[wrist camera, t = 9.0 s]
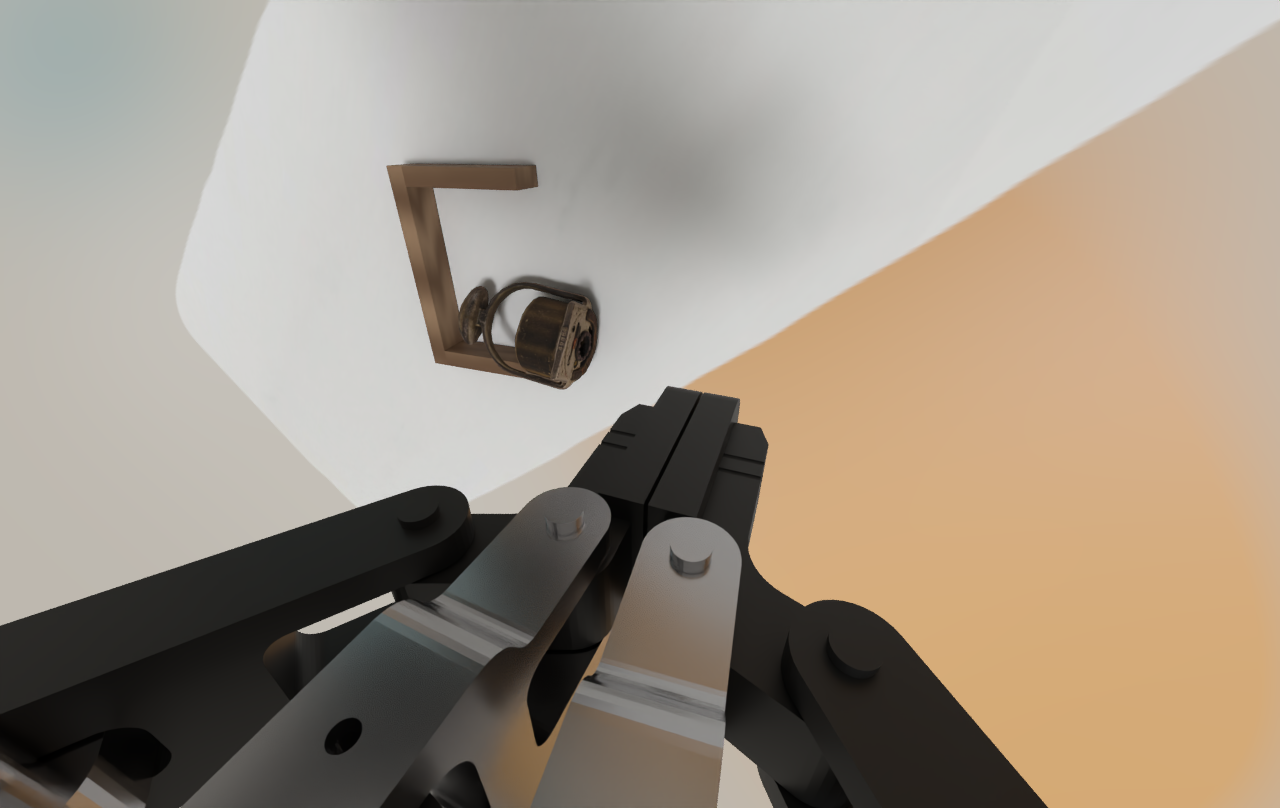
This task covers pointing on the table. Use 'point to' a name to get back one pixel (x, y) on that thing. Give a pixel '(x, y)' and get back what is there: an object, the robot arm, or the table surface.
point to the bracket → (430, 253)
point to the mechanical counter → (537, 333)
